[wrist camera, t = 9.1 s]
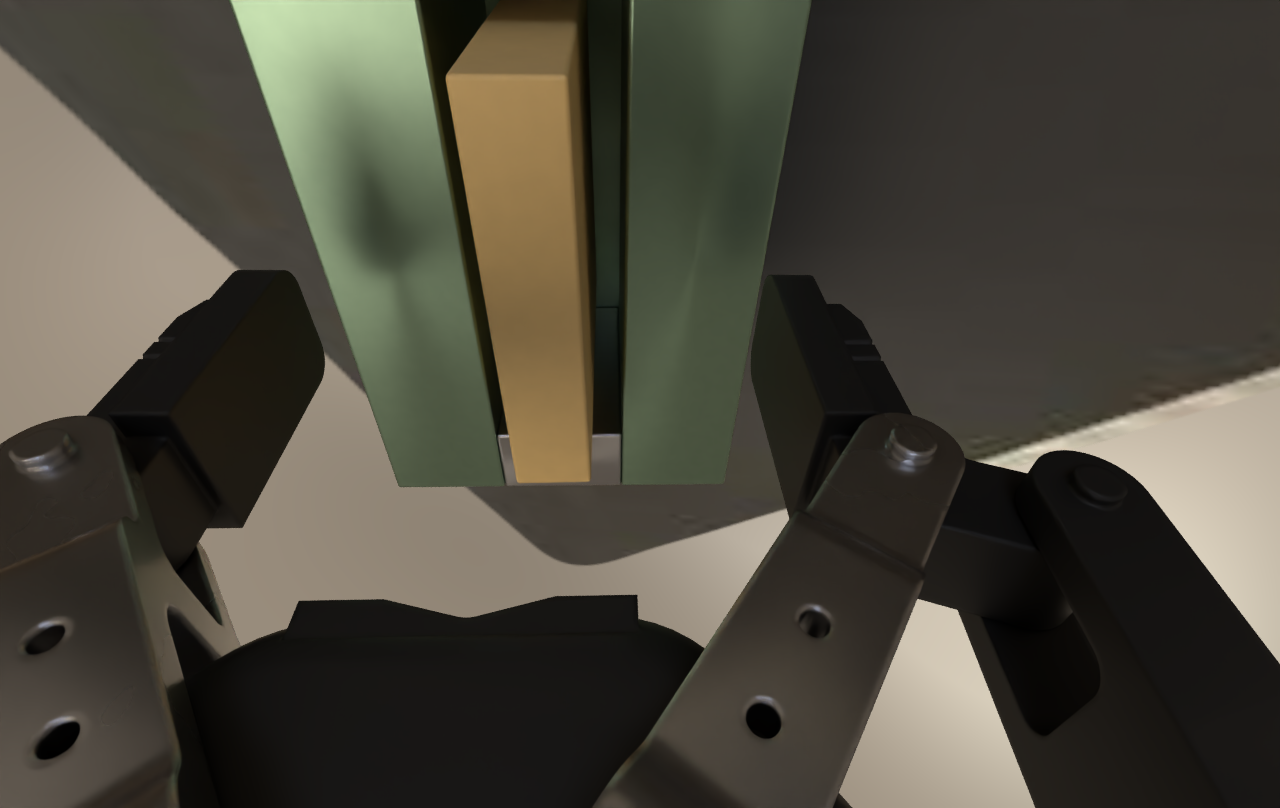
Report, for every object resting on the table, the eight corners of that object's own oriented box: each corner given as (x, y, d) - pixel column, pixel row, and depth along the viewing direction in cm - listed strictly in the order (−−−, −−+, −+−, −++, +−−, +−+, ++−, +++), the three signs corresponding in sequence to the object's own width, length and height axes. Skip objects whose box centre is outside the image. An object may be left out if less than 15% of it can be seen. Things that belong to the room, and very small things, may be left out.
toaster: (369, -205, 15) (135, -257, 8) (736, -189, 15) (854, -224, 8) (462, 293, 24) (398, 488, 17) (689, 294, 25) (724, 485, 17)
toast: (516, -26, 14) (443, 74, 8) (585, -26, 14) (568, 74, 8) (546, 279, 20) (516, 484, 13) (596, 279, 20) (591, 483, 13)
